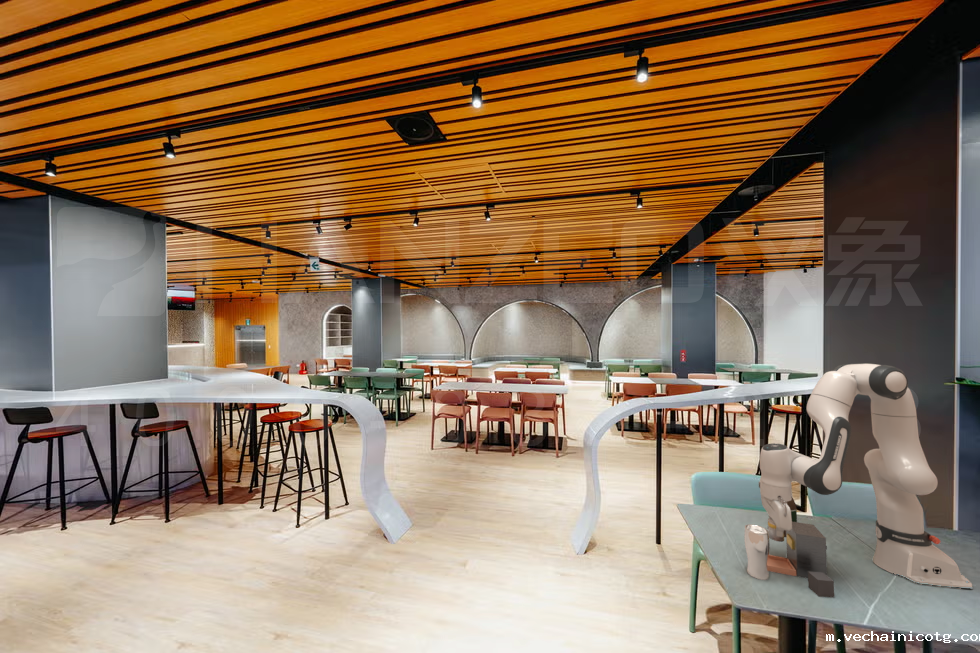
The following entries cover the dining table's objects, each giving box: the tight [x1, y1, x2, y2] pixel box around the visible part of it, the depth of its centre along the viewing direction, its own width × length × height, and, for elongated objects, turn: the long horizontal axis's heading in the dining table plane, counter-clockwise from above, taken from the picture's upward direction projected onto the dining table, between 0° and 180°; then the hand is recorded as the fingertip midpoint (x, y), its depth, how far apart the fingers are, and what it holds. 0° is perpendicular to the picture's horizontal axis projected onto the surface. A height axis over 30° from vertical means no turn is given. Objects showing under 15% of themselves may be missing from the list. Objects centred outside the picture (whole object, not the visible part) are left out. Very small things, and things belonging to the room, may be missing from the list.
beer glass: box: [743, 524, 771, 581], centre depth 128 cm, size 7×7×15 cm
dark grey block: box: [785, 521, 828, 579], centre depth 130 cm, size 9×10×14 cm
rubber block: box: [807, 571, 835, 599], centre depth 119 cm, size 4×4×5 cm
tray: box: [767, 554, 797, 577], centre depth 132 cm, size 8×8×2 cm
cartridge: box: [767, 517, 785, 543], centre depth 133 cm, size 5×5×6 cm
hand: (776, 531), depth 133 cm, fingers closed on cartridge, 5 cm apart
